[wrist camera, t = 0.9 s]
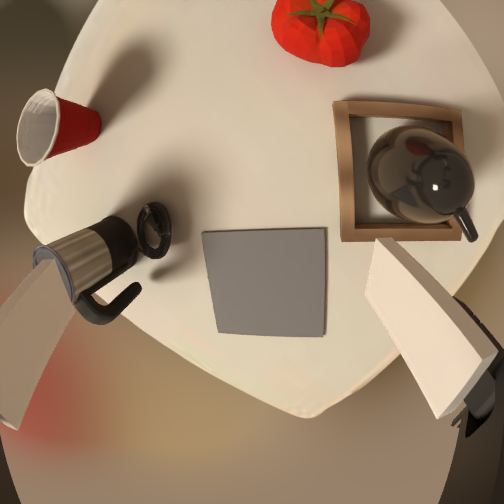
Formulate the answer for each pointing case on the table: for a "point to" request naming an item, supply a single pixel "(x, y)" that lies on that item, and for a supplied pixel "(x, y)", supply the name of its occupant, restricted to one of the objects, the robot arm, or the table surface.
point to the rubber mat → (267, 281)
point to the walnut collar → (346, 178)
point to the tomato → (321, 30)
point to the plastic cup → (54, 127)
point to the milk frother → (105, 259)
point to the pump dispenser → (422, 177)
